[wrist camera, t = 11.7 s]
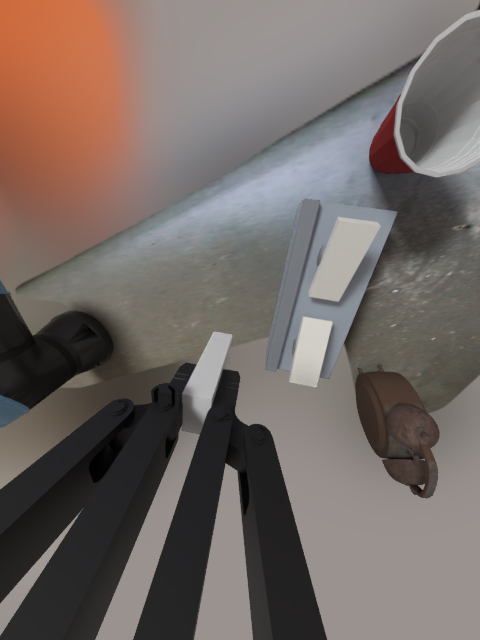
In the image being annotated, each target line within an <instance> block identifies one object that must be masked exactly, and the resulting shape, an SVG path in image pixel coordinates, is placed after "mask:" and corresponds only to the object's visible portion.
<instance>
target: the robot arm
mask: <svg viewBox="0 0 480 640" xmlns="http://www.w3.org/2000/svg"><path fill="white" fill-rule="evenodd" d="M10 295H11V293H10V292H8V291H7V290H6V289H5V287H4V285H3V284H2V282H1V281H0V428H3V427H5V426H7V425H9V424H10V423H12V422H13V421H15V420H16V419H18V418H19V417H21V416H22V415H24V414H25V413H28V412H29V411H30V409H32V408H33V407H34V406H36V405H37V404H38V403H40V402H41V401H42V400H44V399H45V398H46V397H47V396H49V395H50V394H51V393H53V392H54V391H55V390H57V389H58V388H59V387H61V386H62V385H63V384H65V383H66V382H67V381H69V380H70V379H71V378H73V377H74V376H75V375H78V374H80V373H83V372H86V371H88V370H91V369H93V368H96V367H98V366H100V365H102V364H103V363H104V362H106V361H107V360H108V359H109V358H110V357H111V355H112V351H113V345H112V341H111V338H110V336H109V334H108V332H107V331H106V330H105V328H104V327H103V326H102V325H101V324H100V323H99V322H98V321H97V320H95V319H94V318H92V317H91V316H89V315H87V314H85V313H82V312H78V311H68V312H65V313H63V314H60V315H58V316H56V317H54V318H53V319H52V320H51V321H50V322H49V323H48V324H47V325H45V326H44V327H43V328H42V329H41V330H40V331H38V332H37V333H36V334H35V335H33V336H32V334H31V332H30V330H29V329H28V327H27V325H26V323H25V321H24V320H23V318H22V316H21V314H20V312H19V311H18V309H17V307H16V305H15V304H14V301H13V300H12V298H11V296H10ZM231 343H232V335H231V334H225V333H219V332H213V334H212V336H211V338H210V340H209V342H208V344H207V346H206V348H205V350H204V352H203V354H202V356H201V358H200V360H199V362H198V364H197V365H196V364H191V363H185V364H183V365H182V366H180V368H179V369H178V371H177V373H176V374H175V376H174V378H173V379H172V380H171V382H170V383H164V384H159V385H158V386H156V387H154V388H153V389H152V390H151V393H152V403H150V404H144V405H134V404H133V402H132V401H131V400H129V399H118V400H115V401H112V402H111V403H109V404H108V405H107V406H105V407H104V408H103V409H101V410H100V411H99V412H98V413H96V414H95V415H94V416H93V417H91V418H90V419H89V420H87V421H86V422H85V423H84V424H82V425H81V426H80V427H79V428H77V429H76V430H75V431H74V432H72V433H71V434H70V435H69V436H67V437H66V438H65V439H64V440H62V441H61V442H60V443H59V444H57V445H56V446H55V447H53V448H52V449H51V450H50V451H48V452H47V453H46V454H45V455H43V456H42V457H41V458H40V459H38V460H37V461H36V462H35V463H33V464H32V465H31V466H30V467H29V468H27V469H26V470H24V471H23V472H22V473H21V474H19V475H18V476H17V477H16V478H14V479H13V480H12V481H11V482H9V483H8V484H7V485H6V486H4V487H3V488H2V489H0V603H1V602H2V601H3V600H4V598H5V597H6V596H7V595H8V594H9V593H10V591H11V590H12V589H13V588H14V587H15V586H16V585H17V583H18V582H19V581H20V580H21V579H22V577H24V575H25V574H26V573H27V572H28V571H29V570H30V569H31V567H32V566H33V565H34V564H35V563H36V562H37V561H38V559H39V558H40V557H41V556H42V555H43V554H44V552H45V551H46V550H47V549H48V548H49V547H50V545H51V544H52V543H53V542H54V541H55V540H56V539H57V538H58V536H59V535H60V534H61V533H62V532H63V531H64V530H65V528H66V527H67V526H68V525H69V524H70V523H71V522H72V520H73V519H74V518H75V517H76V516H77V515H78V513H79V512H80V511H81V510H82V509H83V510H82V511H81V513H80V514H79V516H78V518H77V519H76V520H75V522H74V524H73V525H72V527H71V528H70V530H69V531H68V533H67V534H66V536H65V538H64V539H63V541H62V542H61V544H60V545H59V547H58V548H57V550H56V551H55V553H54V554H53V556H52V557H51V559H50V560H49V562H48V564H47V565H46V567H45V568H44V570H43V571H42V573H41V574H40V576H39V577H38V579H37V580H36V582H35V583H34V585H33V587H32V588H31V590H30V591H29V593H28V594H27V596H26V597H25V599H24V600H23V602H22V604H21V605H20V607H19V608H18V610H17V611H16V613H15V614H14V616H13V617H12V619H11V620H10V622H9V623H8V625H7V627H6V628H5V630H4V631H3V633H2V634H1V636H0V640H95V639H96V636H97V634H98V631H99V629H100V626H101V624H102V622H103V619H104V617H105V615H106V612H107V610H108V607H109V605H110V602H111V600H112V597H113V595H114V593H115V590H116V588H117V586H118V583H119V581H120V578H121V576H122V574H123V571H124V569H125V566H126V564H127V562H128V559H129V556H130V554H131V552H132V549H133V547H134V545H135V542H136V540H137V537H138V535H139V533H140V530H141V528H142V525H143V523H144V520H145V518H146V516H147V513H148V511H149V509H150V506H151V504H152V501H153V499H154V497H155V494H156V492H157V489H158V487H159V484H160V482H161V479H162V477H163V475H164V472H165V470H166V468H167V465H168V463H169V460H170V458H171V456H172V453H173V451H174V448H175V446H176V444H177V441H178V432H179V430H180V428H181V426H182V431H186V432H191V433H196V434H200V437H199V439H198V442H197V445H196V449H195V452H194V455H193V458H192V461H191V464H190V467H189V470H188V473H187V476H186V479H185V482H184V486H183V488H182V491H181V495H180V498H179V501H178V504H177V507H176V510H175V513H174V516H173V519H172V522H171V525H170V528H169V531H168V534H167V537H166V541H165V544H164V547H163V550H162V553H161V556H160V559H159V562H158V565H157V568H156V571H155V574H154V577H153V581H152V583H151V587H150V590H149V593H148V596H147V599H146V602H145V605H144V608H143V611H142V614H141V617H140V620H139V623H138V627H137V630H136V633H135V636H134V639H133V640H194V636H195V630H196V624H197V619H198V613H199V608H200V602H201V597H202V591H203V585H204V580H205V574H206V569H207V563H208V557H209V552H210V546H211V540H212V535H213V530H214V524H215V519H216V513H217V508H218V502H219V496H220V490H221V485H222V480H223V474H224V468H225V463H226V464H228V465H230V466H231V467H233V468H234V469H236V470H237V471H238V481H239V492H240V503H241V513H242V523H243V534H244V545H245V556H246V566H247V578H248V589H249V599H250V610H251V621H252V630H253V640H327V638H326V634H325V631H324V627H323V623H322V619H321V615H320V612H319V608H318V605H317V601H316V597H315V593H314V590H313V586H312V582H311V578H310V575H309V571H308V567H307V563H306V560H305V556H304V552H303V549H302V545H301V541H300V537H299V534H298V530H297V526H296V523H295V519H294V515H293V512H292V508H291V504H290V500H289V496H288V493H287V489H286V486H285V482H284V478H283V474H282V470H281V467H280V463H279V460H278V456H277V452H276V448H275V445H274V441H273V437H272V435H271V433H270V431H269V430H268V429H267V428H266V427H265V426H263V425H260V424H253V425H250V426H248V425H246V424H244V423H242V422H241V421H240V420H239V419H238V418H237V416H236V415H235V406H236V400H237V395H238V388H239V382H240V375H239V373H238V372H237V371H232V370H227V368H228V364H229V359H230V351H231Z"/></svg>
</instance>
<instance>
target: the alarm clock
mask: <svg viewBox="0 0 480 640" xmlns="http://www.w3.org/2000/svg"><path fill="white" fill-rule="evenodd" d="M378 367H379V371H380V372H369V373H362V371H361V369H360V368H358V371H359V373H360V374H359V375H358V377H357V380H356V402H357V409H358V413H359V417H360V420H361V424H362V427H363V429H364V432H365V434H366V437H367V439H368V441H369V443H370V445H371V447H372V448H373V450H374V452H375V453H376V454H377V455H378V456H379V457H381V458H387V459H386V460H382V461H383V464H384V466H385V468H386V470H387V472H388V473H389V475H390V476H391V477H392V478H393V479H394V480H396V481H398V482H400V483H402V484H405V485H407V486H410V489H411V491H412V493H413V494H414V495H418V496H420V497H421V498H429V497H431V496H432V495H433V493H434V491H435V488H436V485H437V480H438V469H437V465H436V462H435V459H434V456H433V454H432V452H431V449H430V448H431V447H433V446H434V445H435V444H436V443H437V442H438V439H439V429H438V426H437V424H436V422H435V421H434V419H433V418H432V417H431V416H430V415H429V414H428V413H427V412H426V411H425V409H424V406H423V404H422V402H421V400H420V398H419V396H418V394H417V393H416V391H415V390H414V388H413V387H412V386H411V384H410V383H409V382H408V381H407V380H406V379H405V378H404V377H403V376H402V375H400V374H398V373H395V372H384V371H383V369H382V368H381V367H382V366H381V365H378ZM420 459H425V461H424V460H420ZM423 484H425V487H424V489H423V490H422V489H421V488H420V487H419V486H418V485H423Z"/></svg>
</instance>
